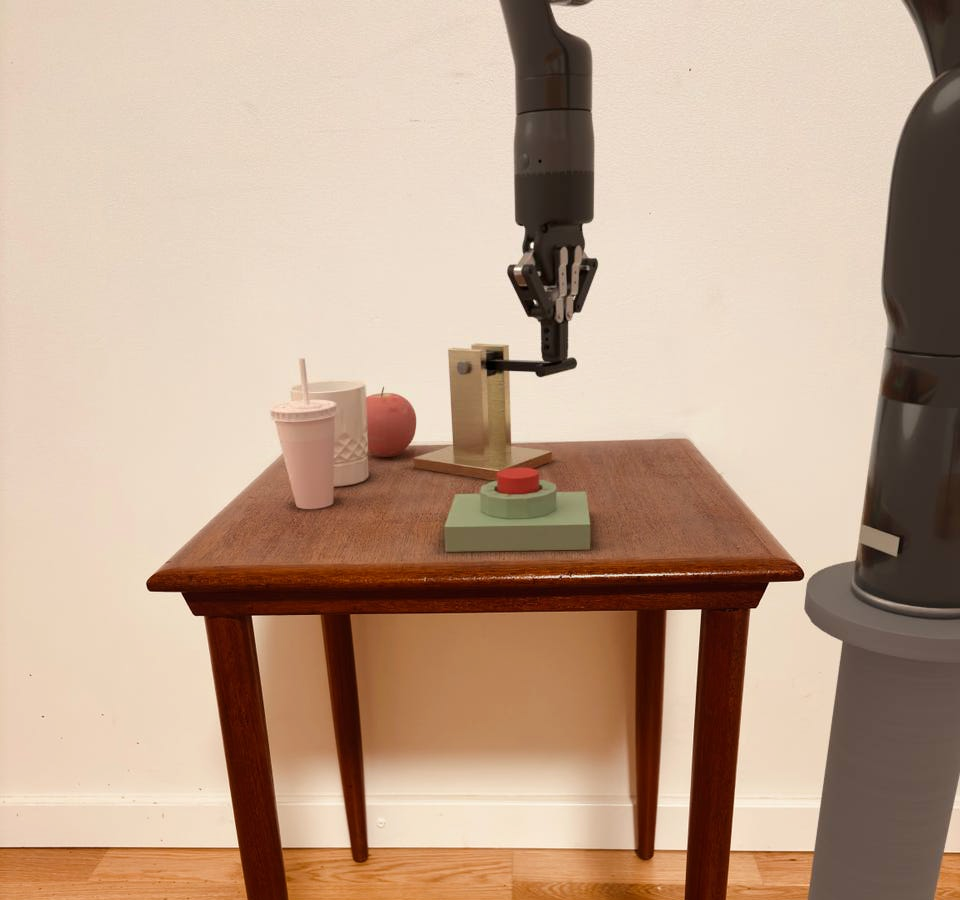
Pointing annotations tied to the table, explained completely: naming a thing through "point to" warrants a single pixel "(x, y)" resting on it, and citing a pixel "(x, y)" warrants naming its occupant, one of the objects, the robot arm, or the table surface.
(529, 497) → the button block
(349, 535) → the table surface
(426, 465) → the tan pivot stand
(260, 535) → the table surface
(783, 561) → the table surface
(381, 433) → the apple
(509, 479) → the button
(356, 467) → the white cup
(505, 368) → the lever
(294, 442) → the smoothie
